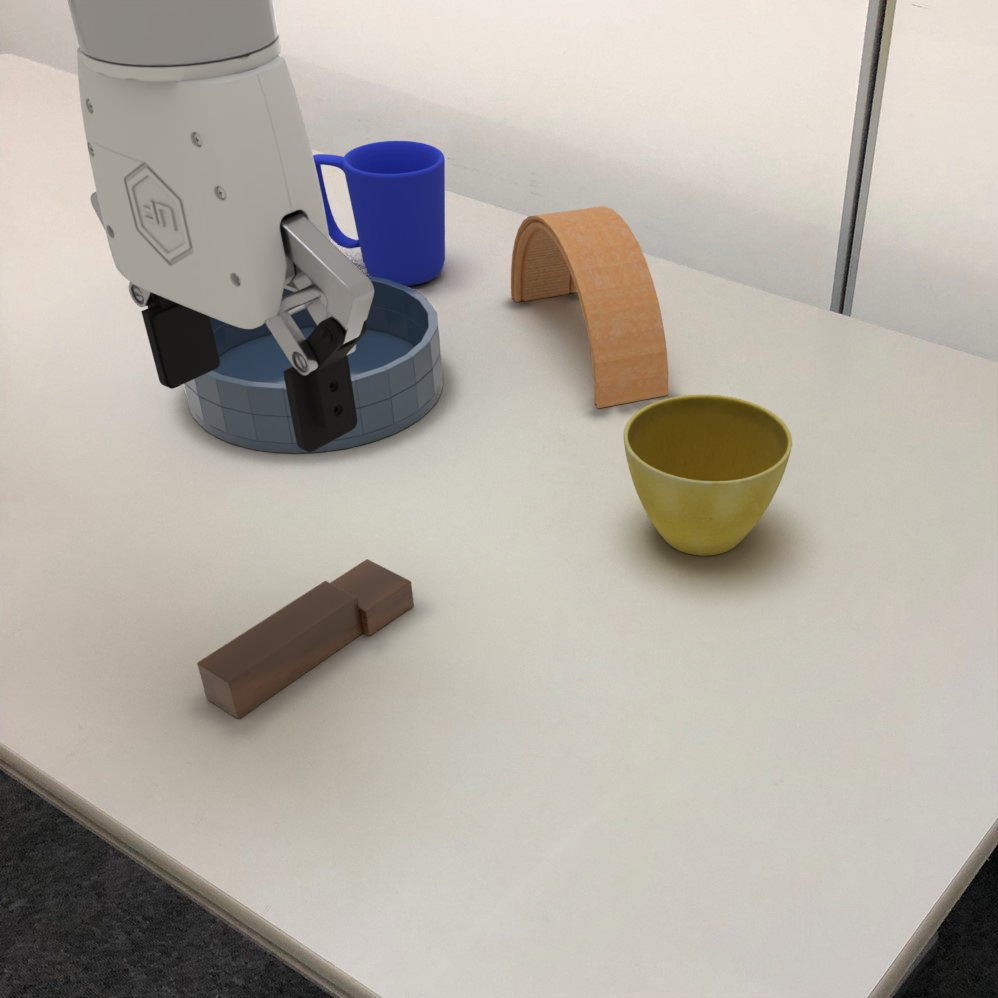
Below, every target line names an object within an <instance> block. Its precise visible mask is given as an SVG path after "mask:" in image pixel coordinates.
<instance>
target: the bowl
mask: <svg viewBox="0 0 998 998" xmlns="http://www.w3.org/2000/svg"><path fill="white" fill-rule="evenodd" d="M365 275H366V276H367V277H368V278H369V279H370V281H371V282H372V284H373V287H374V296H373V300H372V303H371V307H370V310H369V313H368V317H367V320H365V321H366V324H367V331H366V333H365V334H364V335H363V336H362V337H361V339H360V340H359V341H358V342H357V343H356V350H355V351H354V352H352V353H350V354H348V361H349V368H350V375H351V381H352V388H353V394H354V401H355V407H356V414H357V425H356V427H355V428H354V429H353V430H351V431H350V432H348V433H346V434H344V435H342V436H340V437H339V438H337V439H335V440H333V441H331V442H330V443H328V444H326V445H324V446H322V447H320V448H319V449H317V450H315V451H313V452H307V451H305V450H303V449H300V448H299V447H298V445H297V442H296V438H295V433H294V427H293V422H292V417H291V412H290V406H289V401H288V396H287V391H286V385H285V380H284V373H283V371H285V370H287V369H289V368H291V367H293V366H292V364H291V362H290V361H289V359H288V358H287V356H286V355H285V353H284V352H283V350H282V348H281V347H280V345H279V344H278V342H277V341H276V339H275V338H274V336H273V334H272V333H271V331H270V330H269V328H268V327H267V325H266V324H265V323H264V324H263V325H261V326H259V327H257V328H254V329H243V328H239V327H236V326H233V325H230V324H227V323H225V322H222V321H220V320H217V319H215V318H212V317H210V320H211V324H212V329H213V333H214V338H215V342H216V346H217V351H218V355H219V360H220V365H219V367H218V368H216V369H215V370H212V371H210V372H208V373H206V374H204V375H202V376H200V377H197V378H195V379H193V380H191V381H189V382H187V383H184V384H182V387H183V390H184V394H185V396H186V400H187V404H188V408H189V411H190V413H191V416H192V418H193V419H194V420H195V422H196V423H197V424H198V425H199V426H200V427H201V428H202V429H203V430H205V431H206V432H207V433H208V434H210V435H212V436H214V437H216V438H217V439H220V440H222V441H224V442H226V443H229V444H232V445H234V446H235V445H236V446H239V447H242V448H246V449H251V450H254V451H255V450H256V451H262V452H270V453H271V452H272V453H278V454H279V453H280V454H281V453H282V454H283V453H284V454H309V453H312V454H313V453H324V452H333V451H338V450H344V449H345V450H346V449H350V448H354V447H358V446H363V445H366V444H370V443H373V442H376V441H379V440H382V439H385V438H387V437H389V436H392V435H395V434H397V433H399V432H401V431H403V430H405V429H407V428H408V427H410V426H412V425H414V424H415V423H416V422H418V421H419V420H420V419H422V418H423V417H424V416H426V415H427V414H428V413H429V412H430V411H431V409H433V407H434V406H435V405H436V403H437V402H438V400H439V398H441V397H440V396H441V394H442V390H443V385H444V384H443V383H444V376H443V362H442V353H441V352H442V351H441V342H440V341H441V340H440V330H439V329H440V328H439V318H438V312H437V311H436V309H435V307H434V306H433V305H432V303H431V302H430V300H429V299H428V298H427V297H425V296H424V295H423V294H421V293H420V292H418V291H416V290H415V289H413V288H412V287H410V286H405V285H402V284H399V283H396V282H394V281H391V280H387V279H384V278H378V277H373V276H370V275H369V274H365ZM292 293H294V292H293V291H290V290H287V289H285V288H284V290H283V295H282V298H283V297H285V296H287V295H289V294H292ZM291 317H292V318H293V320H294V321H295V323H296V325H297V326H298V328H299V329H300V331H301V332H302V334H303V336H304V337H305V339H307V338H308V337H309V335H310V334H311V333H312V332H313V330H314V329H315V328H316V327H317V324H316V323H315V321H314V320H313V318H312V316H311V315H310V313H309V312H308V310H307V309H306V308H305V309H303V310H301V311H299V312H297V313H294V314H292V315H291Z"/></svg>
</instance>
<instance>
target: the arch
mask: <svg viewBox="0 0 998 998" xmlns="http://www.w3.org/2000/svg"><path fill="white" fill-rule="evenodd" d="M510 267H511V268H510V297H511V299H514V302H517V303H520V302H522V301H524V302H528V301H533V300H540V299H546V298H552V297H559V296H565V295H569V294H570V293H571V294H575V293H577V296H578V299H579V304H580V307H581V311H582V314H583V319H584V323H585V328H586V334H587V338H588V345H589V350H590V357H591V364H592V365H591V366H592V372H593V373H592V376H593V388H594V389H593V391H594V392H593V393H594V404H595V405H596V408H597V409H602V408H607V407H614V406H618V405H624V404H628V403H634V402H640V401H645V400H649V399H650V400H651V399H656V398H661V397H665V396H669V364H668V363H669V362H668V350H667V349H668V348H667V343H666V342H667V341H666V335H665V334H666V333H665V328H664V322H663V318H662V317H663V316H662V312H661V306H660V301H659V298H658V294H657V290H656V287H655V283H654V279H653V276H652V274H651V271H650V267H649V264H648V262H647V260H646V257H645V255H644V253H643V250H642V248H641V246H640V243H639V242H638V239H637V238H636V236H635V235H634V233H633V231H632V229H631V228H630V226H629V225H628V223H627V222H626V221H625V220H624V218H623V216H621V215H620V214H619V213H617V212H616V210H614V209H613V208H610V207H608V206H605V205H602V206H595V207H588V208H581V209H572V210H567V211H566V210H565V211H559V212H551V213H543V214H536V215H529V216H527V217H526V218H525V219H523V220H522V222H521V224H520V225H519V227H518V229H517V232H516V235H515V238H514V243H513V248H512V254H511V266H510Z"/></svg>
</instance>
